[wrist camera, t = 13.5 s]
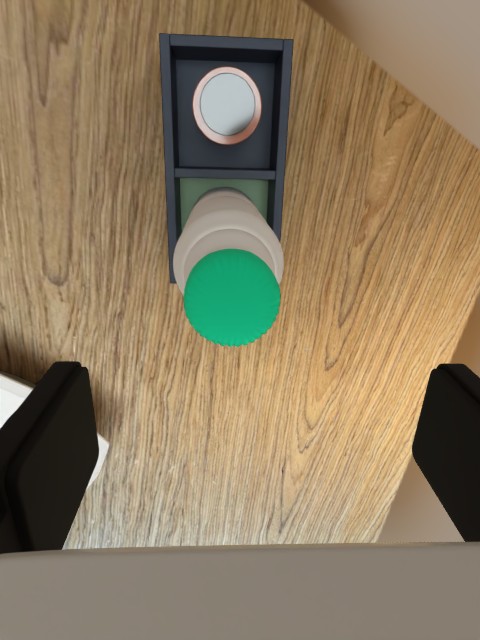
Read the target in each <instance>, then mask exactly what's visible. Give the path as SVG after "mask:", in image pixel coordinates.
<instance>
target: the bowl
mask: <svg viewBox="0 0 480 640" xmlns="http://www.w3.org/2000/svg"><path fill="white" fill-rule="evenodd" d="M35 386H36V384H34V383H31V382H29V381H27V380H25V379H22V378H20V377H18V376H15V375H12V374H9V373H5V372H2V371H0V428H1V427H2V426H3V424H4V423H5V422H6V421H7V419H8V418H9V417H10V416H11V415H12V414H13V413H14V412H15V411H16V410H17V409H18V408H19V406H20V405H21V404H22V403H23V401H24V400H25V399H26V398H27V396H28V395H29V394H30V392H31V391H32V390H33V389H34V387H35ZM97 436H98V443H99V457H98V461H97V464H96V466H95V469H94V471H93V474H92V476H91V479H90V481H89V483H88V486H87V488H86V490H87V489H88V487H89V486H90V485H91V484H92V482H93V481H94V480H95V478H96V477H97V476H98V474H99V472H100V470H101V467H102V464H103V461H104V459H105V456H106V453H107V451H108V448H109V442H108V441H107V440H106V439H105V438H104V437H103V436H101V435H100V434H99V433H98V432H97Z"/></svg>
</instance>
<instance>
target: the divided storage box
mask: <svg viewBox="0 0 480 640" xmlns="http://www.w3.org/2000/svg"><path fill="white" fill-rule="evenodd" d="M159 42H160V65H161V88H162V110H163V133H164V156H165V179H166V202H167V224H168V247H169V270H170V283H177V282H176V279H175V276H174V270H173V257H174V251H175V247H176V244H177V242H178V240H179V238H180V236H181V234H182V232H183V229H184V227H185V224H186V222H187V220H188V219H189V216H190V213H191V211H192V208H193V206H194V204H195V202H196V201H197V200H198V198H199V197H200V196H201V195H203V194H204V193H205V192H207V191H209V190H211V189H213V188H217V187H231V188H235V189H238V190H240V191H241V192H243V193H245V194H246V195H247V196H248V197H249V198H250V199H251V200H252V202H253V203H254V205H255V206H256V208H257V209H258V211H259V213H260V214H261V215H262V216H263V218H264V219H265V221H266V222H267V224H268V226H269V227H270V228H271V229H272V230H273V232H274V233H275V235H276V236H277V238H278V240H279V242H280V237H281V222H282V207H283V192H284V177H285V161H286V146H287V131H288V116H289V101H290V85H291V70H292V55H293V39H284V40H283V39H272V38H250V37H228V36H206V35H184V34H170V35H169V34H164V33H159ZM223 66H230V67H235V68H238V69H240V70H242V71H244V72H245V73H247V74H248V75H249V76H250V77H251V78H252V79H253V81H254V82H255V84H256V85H257V87H258V90H259V92H260V96H261V101H262V111H261V117H260V120H259V123H258V125H257V127H256V129H255V130H254V132H253V133H252V134H251V135H250V136H249V137H248V138H246V139H245V140H244V141H242V142H240V143H237V144H235V145H232V146H226V147H224V146H218V145H216V144H214V143H212V142H210V141H209V140H208V139H207V138H206V137H205V136H204V134H203V133H202V132H201V130H200V129H199V127H198V126H197V124H196V121H195V119H194V115H193V109H192V100H193V95H194V91H195V89H196V86H197V84H198V83H199V81H200V80H201V78H202V77H203V76H204V75H205V74H206V73H208V72H209V71H211V70H213V69H215V68H218V67H223Z"/></svg>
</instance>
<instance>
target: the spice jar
mask: <svg viewBox="0 0 480 640" xmlns="http://www.w3.org/2000/svg"><path fill="white" fill-rule="evenodd" d="M192 109H193V115H194V119H195V121H196V124H197V126H198V127H199V129H200V130H201V132H202V133H203V134H204V136H205V137H206V138H207V139H208V140H209V141H210V142H212V143H214V144H216V145H218V146H224V147H226V146H232V145H235V144H237V143H240V142H242V141H244V140H245V139H246V138H248V137H249V136H250V135H251V134H252V133H253V132H254V130H255V129H256V127H257V125H258V123H259V120H260V117H261V111H262V101H261V96H260V92H259V90H258V87H257V85H256V84H255V82H254V81H253V79H252V78H251V77H250V76H249V75H248V74H247V73H245V72H244V71H242V70H240V69H238V68H235V67H230V66H223V67H218V68H215V69H213V70H211V71H209V72H208V73H206V74H205V75H204V76H203V77H202V78H201V80H200V81H199V83H198V84H197V86H196V89H195V91H194V95H193V100H192Z"/></svg>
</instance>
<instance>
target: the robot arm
mask: <svg viewBox="0 0 480 640" xmlns="http://www.w3.org/2000/svg"><path fill="white" fill-rule="evenodd" d="M412 453H413V457H414V459H415V461H416V463H417V465H418V466H419V468H420V469H421V471H422V473H423V474H424V476H425V478H426V479H427V481H428V482H429V484H430V485H431V487H432V489H433V491H434V492H435V494H436V495H437V497H438V498H439V500H440V502H441V503H442V505H443V507H444V508H445V510H446V512H447V513H448V515H449V517H450V518H451V520H452V521H453V523H454V525H455V526H456V528H457V530H458V531H459V533H460V534H461V536H462V537H463V539H464V541H465V542H412V543H411V542H409V543H331V544H269V545H217V546H171V547H126V548H94V549H67V550H62V548H63V545H64V543H65V540H66V538H67V535H68V533H69V531H70V528H71V526H72V523H73V521H74V518H75V516H76V513H77V511H78V508H79V506H80V503H81V501H82V498H83V496H84V493H85V491H86V488H87V486H88V483H89V481H90V479H91V476H92V474H93V471H94V469H95V466H96V464H97V461H98V457H99V443H98V436H97V429H96V422H95V415H94V408H93V401H92V394H91V387H90V380H89V373H88V369H87V368H86V367H81V364H80V363H79V362H61V361H58V362H55V363H53V365H52V366H51V367H50V369H49V370H48V371H47V372H46V374H45V375H44V376H43V377H42V379H41V380H40V381H39V382H38V384H37V385H36V386H35V387H34V389H33V390H32V391H31V392H30V394H29V395H28V396H27V398H26V399H25V400H24V401H23V403H22V404H21V405H20V406H19V408H18V409H17V410H16V411H15V412H14V413H13V414H12V415H11V416H10V417H9V418H8V419H7V421H6V422H5V423H4V424H3V426H2V427H1V428H0V640H480V378H479V377H478V376H477V375H476V374H474V373H473V372H472V371H471V370H470V369H469V368H468V367H467V366H466V365H464V364H440V365H438V367H437V369H433V370H432V371H431V374H430V377H429V381H428V385H427V389H426V393H425V397H424V401H423V405H422V409H421V413H420V417H419V421H418V425H417V429H416V433H415V437H414V441H413V445H412Z"/></svg>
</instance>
